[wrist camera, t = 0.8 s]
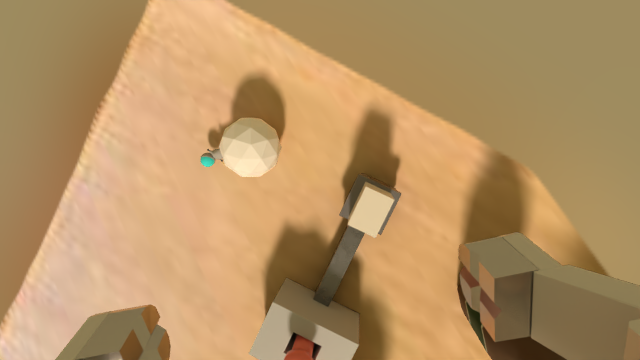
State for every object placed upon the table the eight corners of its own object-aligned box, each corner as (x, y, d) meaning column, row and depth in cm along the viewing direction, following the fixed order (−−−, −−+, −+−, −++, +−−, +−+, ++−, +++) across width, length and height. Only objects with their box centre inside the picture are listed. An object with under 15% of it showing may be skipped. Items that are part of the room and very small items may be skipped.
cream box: (398, 189, 48) (406, 200, 40) (379, 228, 49) (383, 246, 41) (359, 171, 49) (358, 178, 40) (340, 209, 50) (336, 224, 41)
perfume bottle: (293, 177, 47) (217, 201, 50) (289, 129, 51) (219, 154, 54) (263, 147, 40) (179, 176, 44) (262, 95, 45) (185, 125, 48)
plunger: (325, 323, 49) (317, 363, 40) (314, 345, 50) (304, 388, 41) (302, 312, 49) (289, 349, 41) (292, 333, 50) (277, 374, 41)
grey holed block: (359, 313, 51) (358, 344, 44) (336, 358, 53) (332, 396, 45) (286, 277, 52) (272, 302, 44) (265, 322, 53) (248, 354, 46)
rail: (386, 184, 49) (387, 186, 46) (329, 299, 52) (328, 307, 49) (370, 176, 49) (371, 178, 47) (315, 291, 52) (312, 299, 49)
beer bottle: (461, 260, 49) (554, 373, 25) (519, 271, 48) (671, 397, 24) (450, 312, 50) (529, 468, 26) (506, 323, 49) (641, 494, 25)
